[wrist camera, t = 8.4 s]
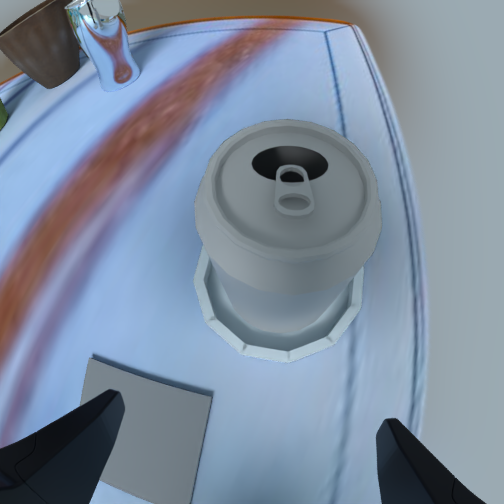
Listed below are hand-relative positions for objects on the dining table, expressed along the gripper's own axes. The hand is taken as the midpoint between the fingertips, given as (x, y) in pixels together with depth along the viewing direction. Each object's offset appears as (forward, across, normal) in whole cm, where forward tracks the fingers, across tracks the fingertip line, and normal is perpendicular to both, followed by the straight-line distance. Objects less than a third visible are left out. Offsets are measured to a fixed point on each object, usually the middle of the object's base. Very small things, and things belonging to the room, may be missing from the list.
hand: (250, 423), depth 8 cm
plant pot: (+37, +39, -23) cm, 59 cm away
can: (+13, -1, +1) cm, 13 cm away
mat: (+5, +8, +11) cm, 15 cm away
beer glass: (+32, +23, -18) cm, 44 cm away
